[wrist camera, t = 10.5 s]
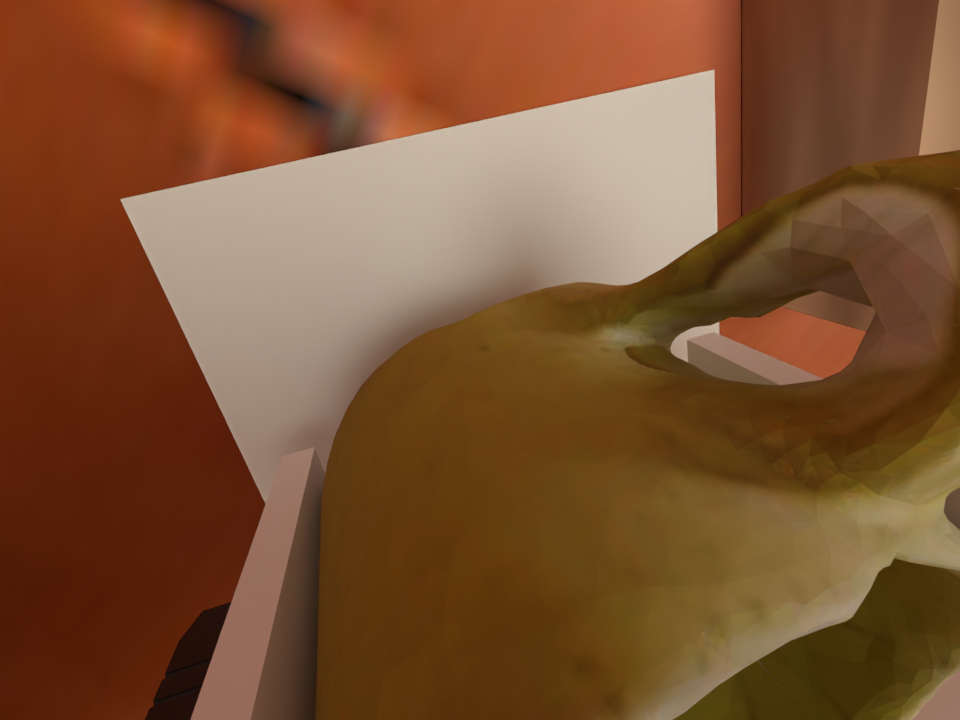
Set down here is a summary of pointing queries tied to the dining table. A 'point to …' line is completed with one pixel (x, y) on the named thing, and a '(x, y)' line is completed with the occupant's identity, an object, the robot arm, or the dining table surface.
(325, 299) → the mat
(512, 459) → the mug
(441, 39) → the dining table surface
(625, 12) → the dining table surface
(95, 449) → the dining table surface
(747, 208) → the open wooden box
